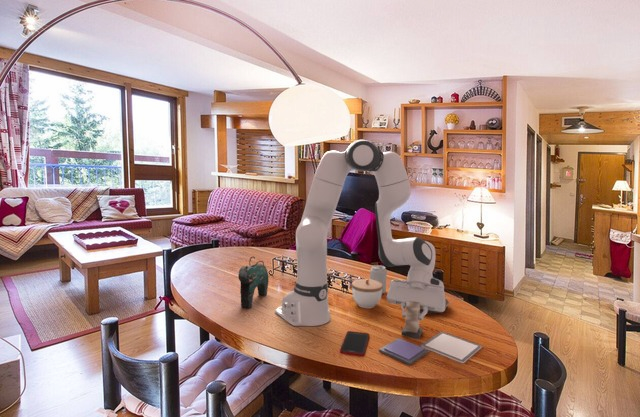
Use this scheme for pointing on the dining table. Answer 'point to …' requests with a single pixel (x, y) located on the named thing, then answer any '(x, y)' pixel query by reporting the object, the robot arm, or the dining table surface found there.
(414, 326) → the stamp
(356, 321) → the dining table surface
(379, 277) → the can
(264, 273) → the green elephant figure
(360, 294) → the lidded bowl
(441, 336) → the marked square
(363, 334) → the cell phone
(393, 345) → the ink pad
